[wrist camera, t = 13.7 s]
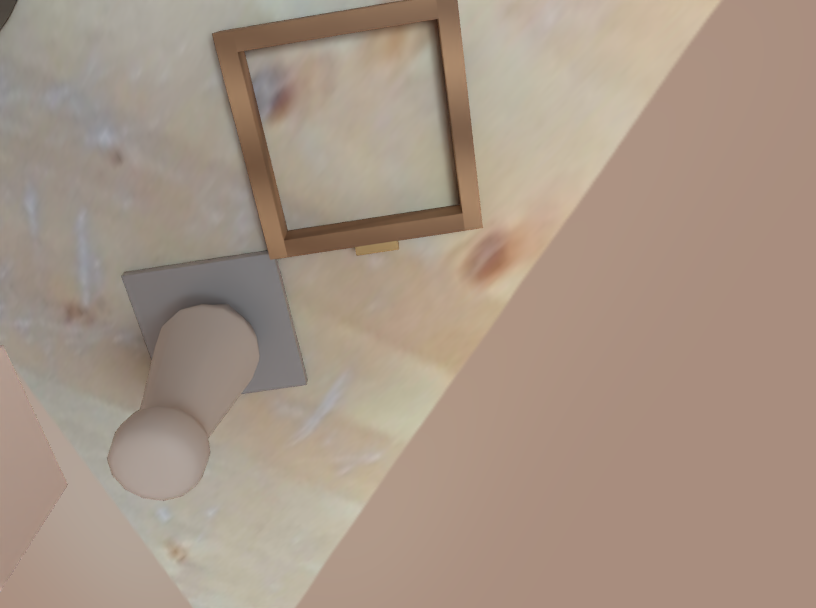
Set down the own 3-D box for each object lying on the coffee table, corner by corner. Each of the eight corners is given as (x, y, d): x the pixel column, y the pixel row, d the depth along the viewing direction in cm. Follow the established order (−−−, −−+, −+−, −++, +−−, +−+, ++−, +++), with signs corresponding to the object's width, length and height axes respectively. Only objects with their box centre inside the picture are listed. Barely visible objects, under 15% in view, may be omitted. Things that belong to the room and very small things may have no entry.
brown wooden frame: (219, 31, 35) (212, 33, 34) (454, -9, 35) (456, -8, 33) (277, 258, 41) (272, 269, 39) (480, 228, 40) (483, 238, 39)
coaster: (124, 272, 41) (121, 276, 40) (274, 249, 41) (272, 253, 40) (170, 399, 45) (167, 404, 44) (307, 379, 44) (306, 384, 44)
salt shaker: (191, 383, 44) (117, 535, 32) (153, 303, 41) (57, 436, 30) (279, 360, 43) (237, 506, 31) (245, 278, 41) (185, 404, 29)
